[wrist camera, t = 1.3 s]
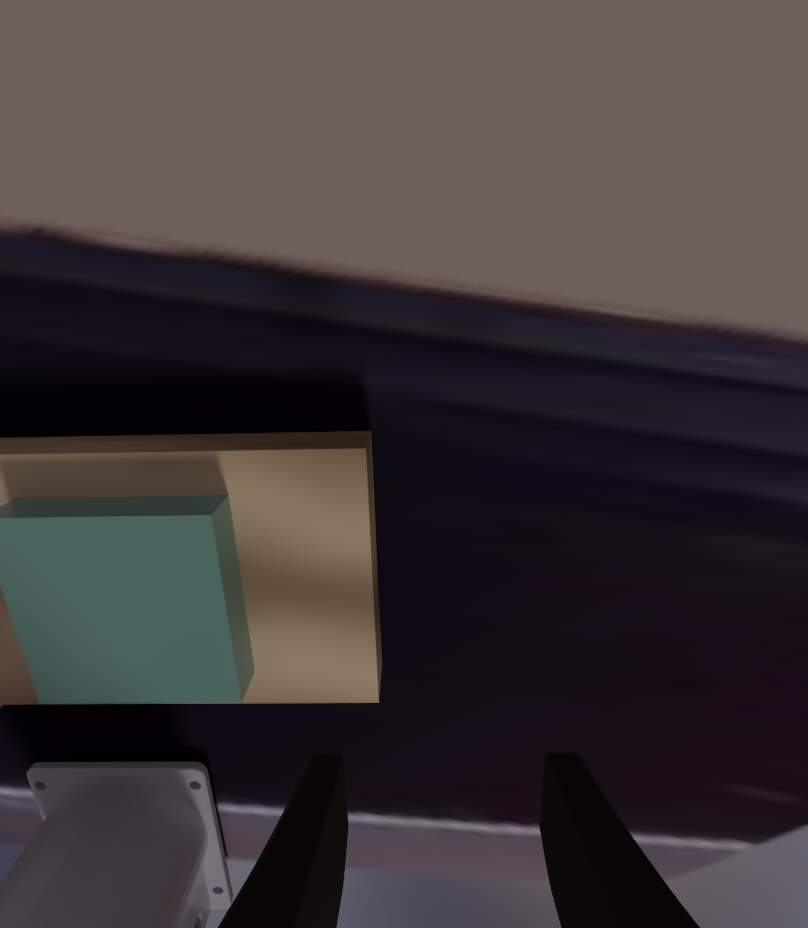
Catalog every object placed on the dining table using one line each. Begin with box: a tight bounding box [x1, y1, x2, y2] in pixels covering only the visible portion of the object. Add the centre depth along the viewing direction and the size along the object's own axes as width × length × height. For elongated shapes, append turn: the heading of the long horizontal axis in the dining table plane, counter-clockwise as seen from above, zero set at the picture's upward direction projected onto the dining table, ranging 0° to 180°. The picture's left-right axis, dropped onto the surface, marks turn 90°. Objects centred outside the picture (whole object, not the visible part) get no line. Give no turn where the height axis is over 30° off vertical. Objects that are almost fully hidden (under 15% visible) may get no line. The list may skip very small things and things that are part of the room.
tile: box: [0, 495, 255, 704], centre depth 17 cm, size 7×7×2 cm
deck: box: [0, 431, 382, 705], centre depth 19 cm, size 10×16×2 cm, turn 91°
